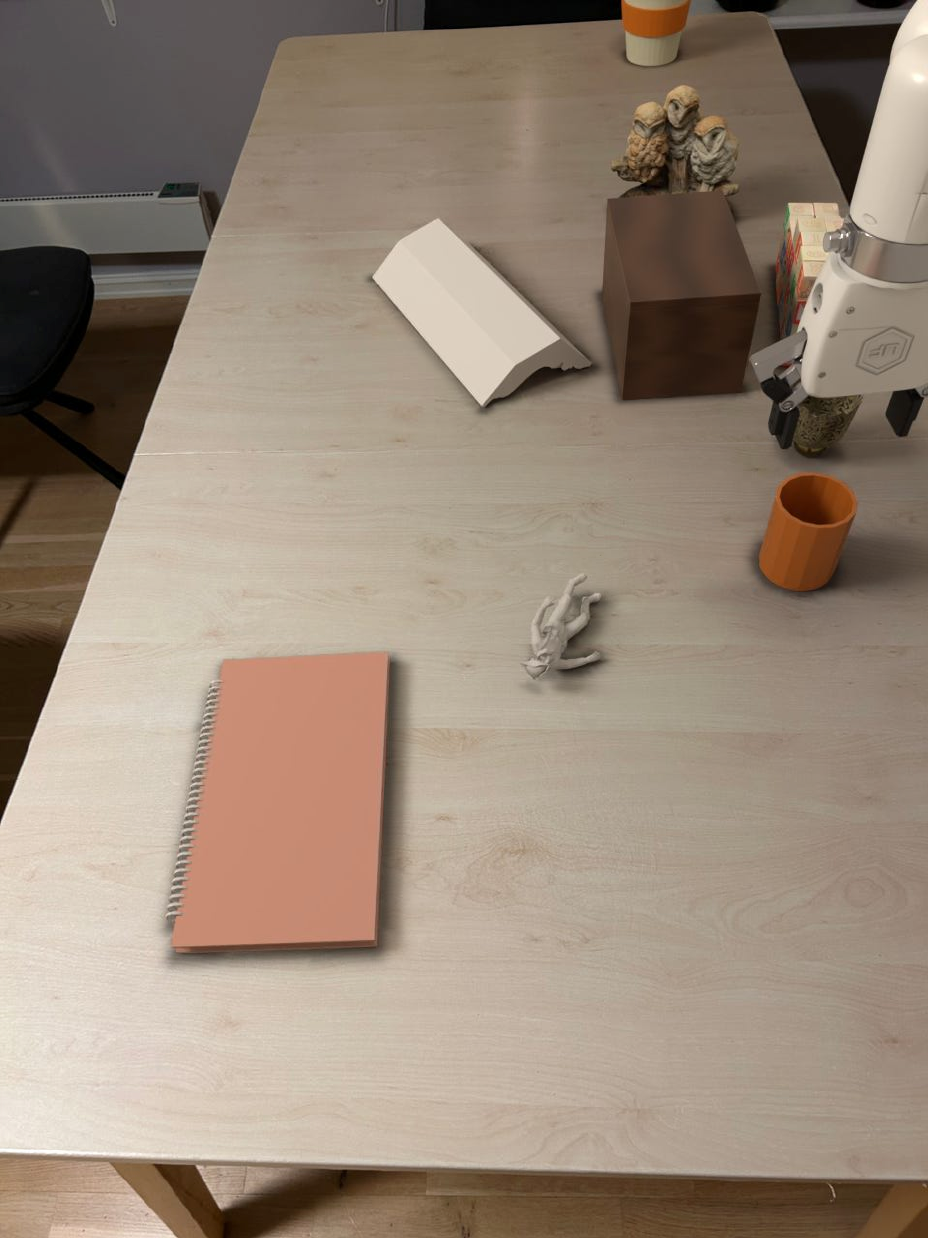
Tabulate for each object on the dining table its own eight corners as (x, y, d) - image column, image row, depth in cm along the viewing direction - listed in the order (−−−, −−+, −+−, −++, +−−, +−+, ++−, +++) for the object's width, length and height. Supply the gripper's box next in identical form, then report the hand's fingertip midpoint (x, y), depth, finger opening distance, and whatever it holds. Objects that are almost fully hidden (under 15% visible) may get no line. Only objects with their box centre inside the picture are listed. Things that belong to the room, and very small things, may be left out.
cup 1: (852, 438, 104) (872, 379, 98) (832, 479, 100) (851, 421, 94) (786, 418, 107) (802, 360, 100) (764, 458, 103) (779, 400, 97)
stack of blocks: (773, 268, 125) (792, 177, 116) (822, 269, 124) (845, 178, 115) (781, 367, 112) (803, 274, 103) (835, 369, 111) (863, 276, 102)
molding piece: (419, 310, 137) (372, 277, 130) (470, 244, 133) (424, 206, 126) (529, 436, 118) (481, 405, 111) (591, 363, 115) (546, 327, 107)
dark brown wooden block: (707, 287, 124) (723, 189, 113) (741, 392, 110) (761, 292, 100) (601, 294, 124) (607, 198, 114) (622, 400, 111) (630, 301, 100)
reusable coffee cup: (649, 35, 175) (657, -60, 163) (701, 53, 168) (713, -45, 157) (602, 57, 170) (606, -40, 158) (653, 76, 164) (662, -23, 152)
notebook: (216, 670, 90) (210, 658, 88) (390, 661, 89) (387, 649, 88) (163, 954, 73) (155, 946, 71) (377, 947, 72) (373, 938, 71)
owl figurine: (603, 231, 134) (609, 107, 120) (613, 190, 141) (621, 68, 127) (731, 239, 130) (753, 111, 117) (736, 196, 137) (757, 71, 124)
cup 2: (822, 535, 95) (845, 470, 88) (841, 589, 91) (867, 525, 84) (751, 539, 96) (768, 474, 89) (767, 593, 91) (786, 529, 84)
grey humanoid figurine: (621, 618, 92) (592, 689, 82) (582, 637, 95) (550, 708, 85) (574, 557, 90) (539, 623, 81) (536, 579, 93) (498, 645, 83)
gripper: (790, 284, 62) (746, 473, 76) (1048, 257, 62) (958, 451, 76) (759, 225, 67) (723, 414, 80) (1000, 200, 67) (923, 393, 80)
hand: (837, 432), depth 78 cm, fingers open, 9 cm apart
